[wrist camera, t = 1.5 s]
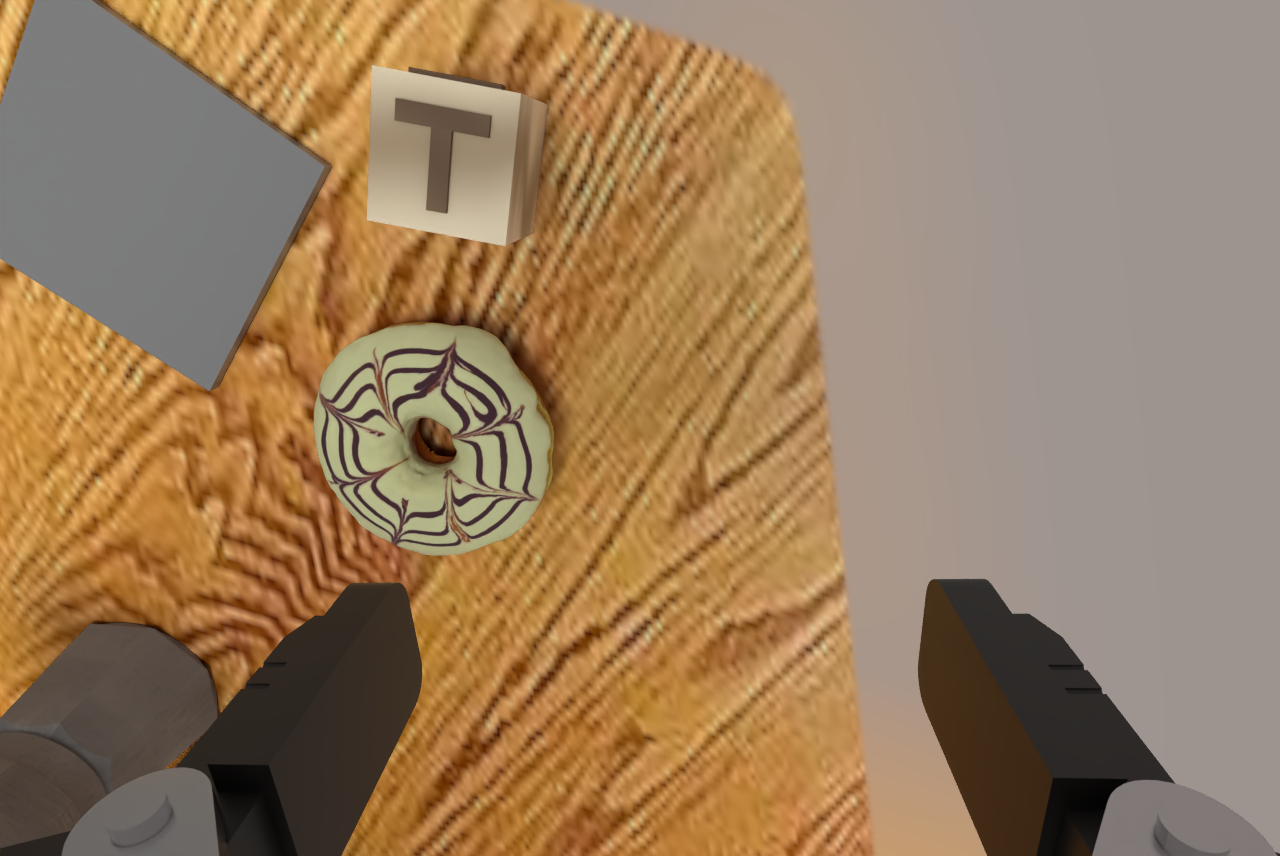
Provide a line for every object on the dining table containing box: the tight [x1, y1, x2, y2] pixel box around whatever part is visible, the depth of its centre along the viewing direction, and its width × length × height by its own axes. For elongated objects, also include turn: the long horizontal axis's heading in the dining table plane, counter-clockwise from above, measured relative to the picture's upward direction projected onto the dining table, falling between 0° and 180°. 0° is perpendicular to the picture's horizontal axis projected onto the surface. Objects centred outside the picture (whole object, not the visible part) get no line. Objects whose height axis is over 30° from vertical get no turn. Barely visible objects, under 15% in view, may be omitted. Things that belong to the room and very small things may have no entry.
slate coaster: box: [0, 0, 332, 391], centre depth 30 cm, size 12×12×1 cm
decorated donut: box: [314, 322, 554, 556], centre depth 31 cm, size 10×11×4 cm
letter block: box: [367, 65, 548, 246], centre depth 26 cm, size 5×5×5 cm
